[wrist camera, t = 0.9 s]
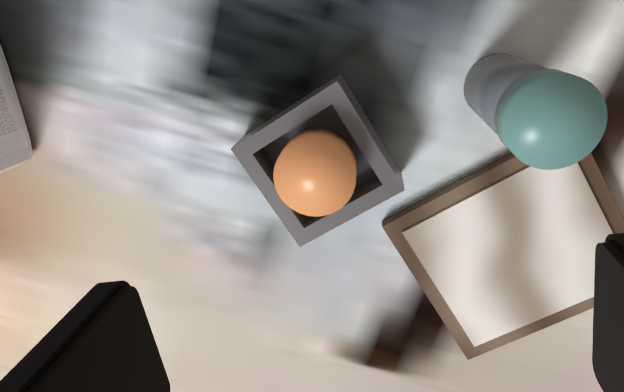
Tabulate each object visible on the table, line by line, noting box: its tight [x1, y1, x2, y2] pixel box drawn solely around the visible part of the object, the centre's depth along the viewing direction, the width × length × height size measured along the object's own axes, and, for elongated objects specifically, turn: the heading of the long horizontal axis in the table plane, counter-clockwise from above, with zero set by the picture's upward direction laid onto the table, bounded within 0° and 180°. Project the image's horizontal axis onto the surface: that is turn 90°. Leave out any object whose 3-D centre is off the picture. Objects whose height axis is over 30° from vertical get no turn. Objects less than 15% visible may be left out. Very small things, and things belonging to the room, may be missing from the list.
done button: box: [273, 128, 357, 217], centre depth 31 cm, size 5×5×2 cm
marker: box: [464, 54, 607, 170], centre depth 27 cm, size 4×4×11 cm
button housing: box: [231, 74, 404, 246], centre depth 33 cm, size 8×8×4 cm
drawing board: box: [382, 153, 624, 360], centre depth 35 cm, size 14×13×1 cm
